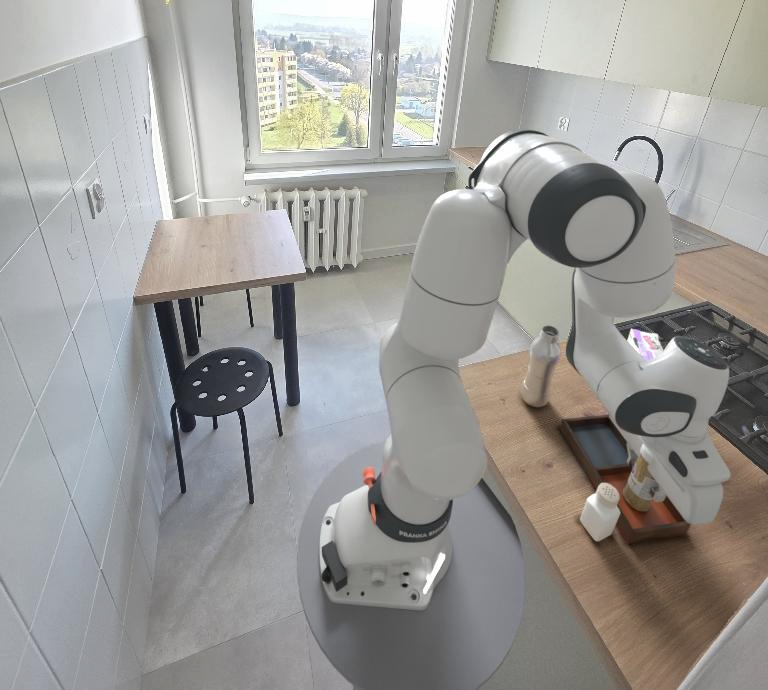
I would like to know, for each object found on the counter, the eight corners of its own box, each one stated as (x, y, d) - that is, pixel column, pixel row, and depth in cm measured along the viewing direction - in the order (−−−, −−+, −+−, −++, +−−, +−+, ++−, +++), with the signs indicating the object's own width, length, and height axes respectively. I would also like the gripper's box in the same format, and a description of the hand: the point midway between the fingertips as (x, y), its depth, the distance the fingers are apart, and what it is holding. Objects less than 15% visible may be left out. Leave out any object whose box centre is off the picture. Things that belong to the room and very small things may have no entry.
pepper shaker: (595, 544, 70) (610, 508, 66) (577, 520, 73) (590, 484, 69) (613, 534, 71) (628, 499, 67) (594, 511, 74) (607, 476, 71)
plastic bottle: (513, 398, 97) (528, 329, 89) (528, 383, 101) (544, 317, 93) (538, 416, 93) (557, 346, 85) (553, 400, 97) (572, 331, 89)
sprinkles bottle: (619, 483, 78) (639, 433, 73) (647, 491, 77) (669, 440, 71) (625, 508, 74) (647, 457, 69) (654, 517, 73) (678, 465, 67)
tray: (627, 543, 70) (632, 533, 69) (559, 428, 90) (562, 419, 89) (685, 535, 72) (691, 524, 70) (605, 424, 91) (609, 414, 90)
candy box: (612, 380, 103) (630, 326, 97) (638, 387, 102) (659, 333, 95) (621, 425, 91) (642, 368, 85) (651, 434, 90) (675, 376, 83)
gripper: (610, 378, 77) (592, 431, 82) (703, 490, 58) (672, 549, 64) (641, 375, 78) (621, 427, 83) (742, 485, 59) (708, 543, 65)
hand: (644, 481), depth 73 cm, fingers closed on sprinkles bottle, 4 cm apart
